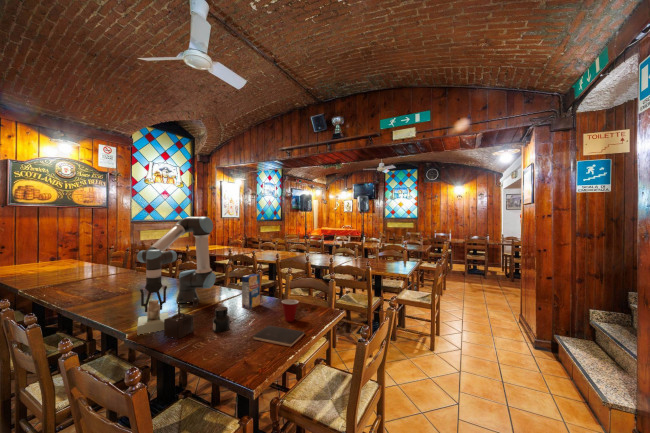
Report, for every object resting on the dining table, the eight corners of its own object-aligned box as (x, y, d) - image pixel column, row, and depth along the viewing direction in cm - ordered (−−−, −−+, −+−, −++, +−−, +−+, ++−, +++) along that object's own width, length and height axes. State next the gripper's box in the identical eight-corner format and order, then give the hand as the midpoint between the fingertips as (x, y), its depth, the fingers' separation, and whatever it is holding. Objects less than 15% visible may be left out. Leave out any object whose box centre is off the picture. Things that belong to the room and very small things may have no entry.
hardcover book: (291, 348, 137) (291, 343, 137) (252, 340, 145) (252, 336, 145) (304, 335, 152) (304, 331, 152) (269, 328, 160) (269, 324, 160)
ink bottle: (217, 325, 162) (217, 305, 162) (232, 326, 162) (232, 306, 162) (209, 332, 153) (210, 311, 153) (225, 333, 152) (225, 311, 152)
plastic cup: (301, 318, 175) (302, 299, 175) (292, 324, 165) (292, 304, 165) (288, 315, 180) (288, 297, 180) (277, 321, 170) (277, 301, 170)
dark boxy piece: (179, 339, 144) (179, 305, 144) (163, 336, 147) (163, 303, 147) (201, 328, 159) (201, 297, 159) (186, 325, 162) (186, 295, 162)
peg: (158, 324, 163) (158, 299, 163) (158, 327, 158) (158, 301, 158) (148, 326, 160) (148, 300, 160) (148, 329, 156) (148, 302, 156)
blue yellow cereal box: (241, 307, 195) (242, 276, 195) (252, 303, 205) (252, 273, 205) (249, 308, 192) (249, 277, 192) (259, 304, 202) (259, 274, 202)
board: (167, 320, 170) (167, 312, 170) (169, 329, 156) (169, 320, 156) (138, 325, 162) (138, 317, 162) (137, 335, 148) (137, 326, 148)
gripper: (171, 273, 167) (170, 311, 167) (135, 276, 158) (135, 317, 158) (171, 276, 161) (171, 315, 161) (134, 279, 151) (134, 321, 151)
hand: (153, 316), depth 159 cm, fingers closed on peg, 5 cm apart
